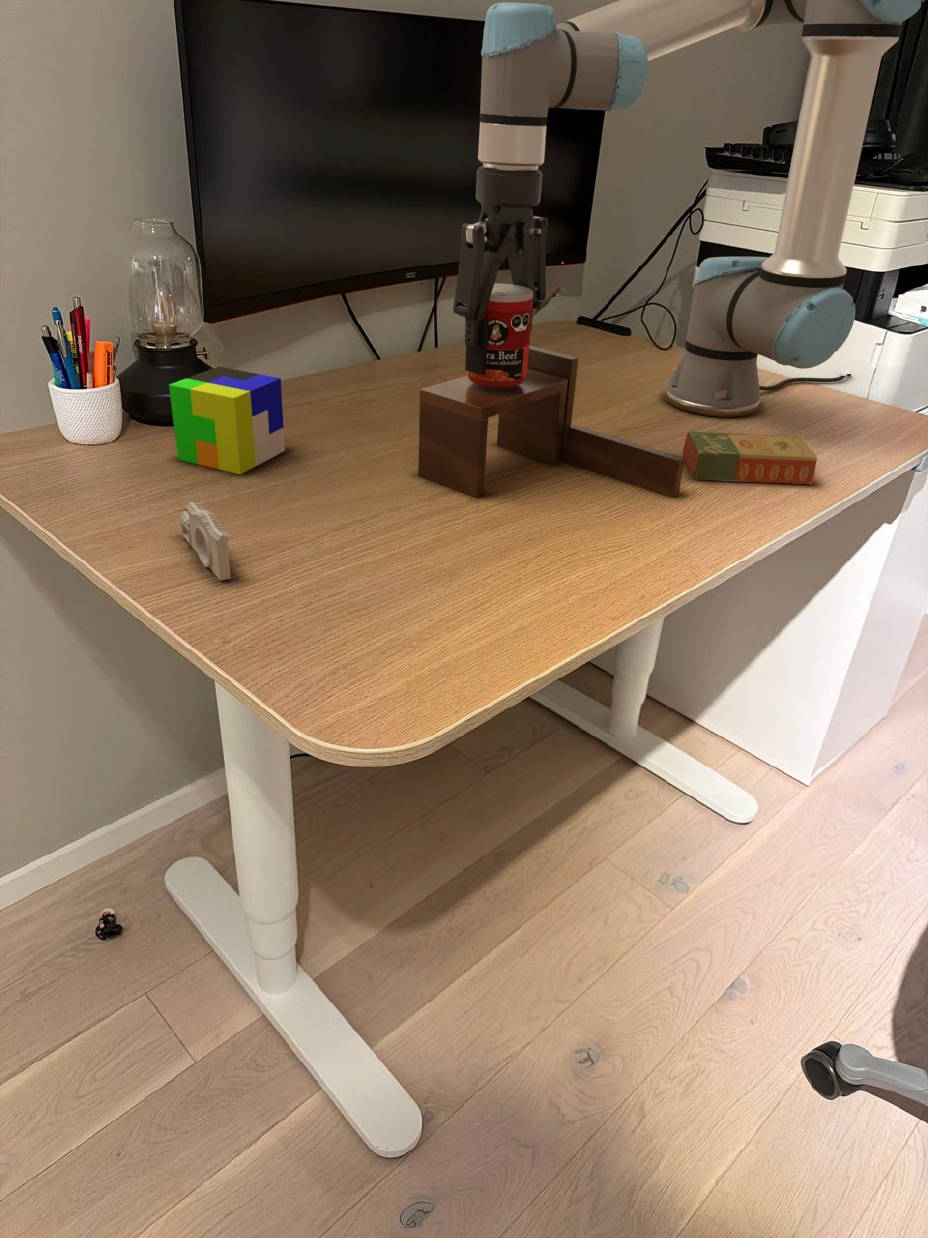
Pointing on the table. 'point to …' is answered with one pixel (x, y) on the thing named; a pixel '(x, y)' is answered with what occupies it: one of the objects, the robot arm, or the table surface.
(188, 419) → the puzzle toy
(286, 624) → the table surface
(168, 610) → the table surface
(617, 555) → the table surface
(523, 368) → the canned food
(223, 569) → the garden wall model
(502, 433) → the step shelf
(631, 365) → the table surface
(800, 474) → the carton
